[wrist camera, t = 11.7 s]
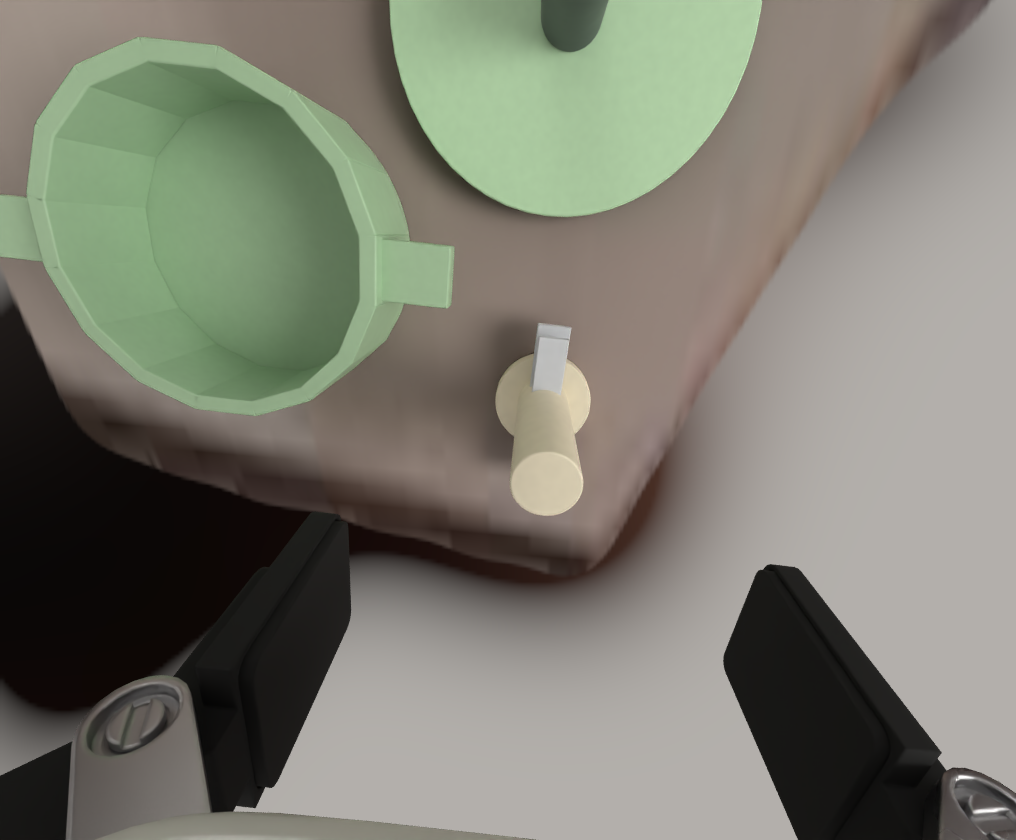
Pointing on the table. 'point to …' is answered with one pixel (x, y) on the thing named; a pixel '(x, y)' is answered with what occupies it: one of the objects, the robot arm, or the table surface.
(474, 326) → the table surface
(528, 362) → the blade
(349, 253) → the pot
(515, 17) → the lid
